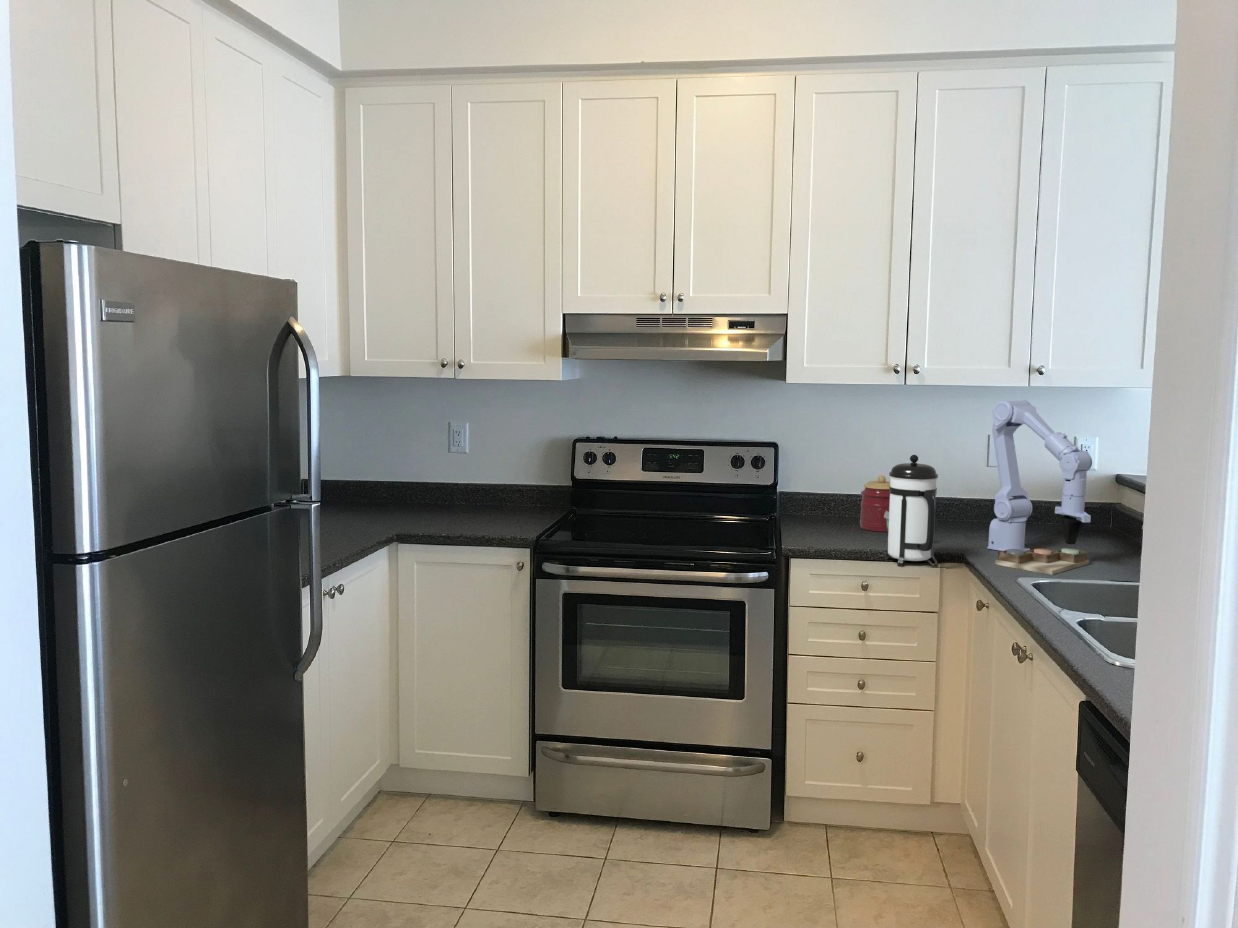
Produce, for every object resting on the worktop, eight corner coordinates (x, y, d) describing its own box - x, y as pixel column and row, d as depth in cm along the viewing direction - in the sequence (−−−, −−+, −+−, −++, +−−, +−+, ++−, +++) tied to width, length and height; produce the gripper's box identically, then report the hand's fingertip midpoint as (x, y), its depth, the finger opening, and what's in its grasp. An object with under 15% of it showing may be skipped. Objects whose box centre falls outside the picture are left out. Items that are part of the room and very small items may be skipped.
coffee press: (870, 562, 267) (874, 455, 263) (896, 554, 279) (901, 450, 275) (930, 572, 255) (935, 460, 252) (955, 563, 267) (960, 455, 264)
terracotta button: (1030, 559, 267) (1031, 549, 267) (1038, 557, 270) (1039, 547, 269) (1046, 561, 263) (1046, 552, 263) (1053, 559, 266) (1054, 550, 266)
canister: (893, 525, 325) (895, 473, 323) (905, 532, 312) (907, 478, 310) (855, 524, 325) (857, 472, 323) (865, 532, 312) (867, 478, 310)
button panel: (995, 564, 266) (995, 552, 266) (1032, 554, 279) (1033, 542, 279) (1052, 574, 254) (1052, 562, 254) (1088, 563, 267) (1089, 551, 267)
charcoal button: (1003, 559, 266) (1003, 550, 266) (1011, 557, 269) (1011, 548, 269) (1018, 562, 263) (1018, 552, 262) (1026, 560, 266) (1026, 550, 265)
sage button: (1058, 558, 268) (1058, 549, 267) (1065, 556, 270) (1066, 547, 270) (1073, 561, 264) (1074, 552, 264) (1081, 559, 267) (1081, 550, 267)
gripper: (1045, 491, 272) (1042, 538, 274) (1074, 499, 258) (1070, 549, 259) (1069, 491, 273) (1066, 538, 274) (1099, 499, 258) (1095, 549, 260)
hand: (1070, 543), depth 267 cm, fingers closed
